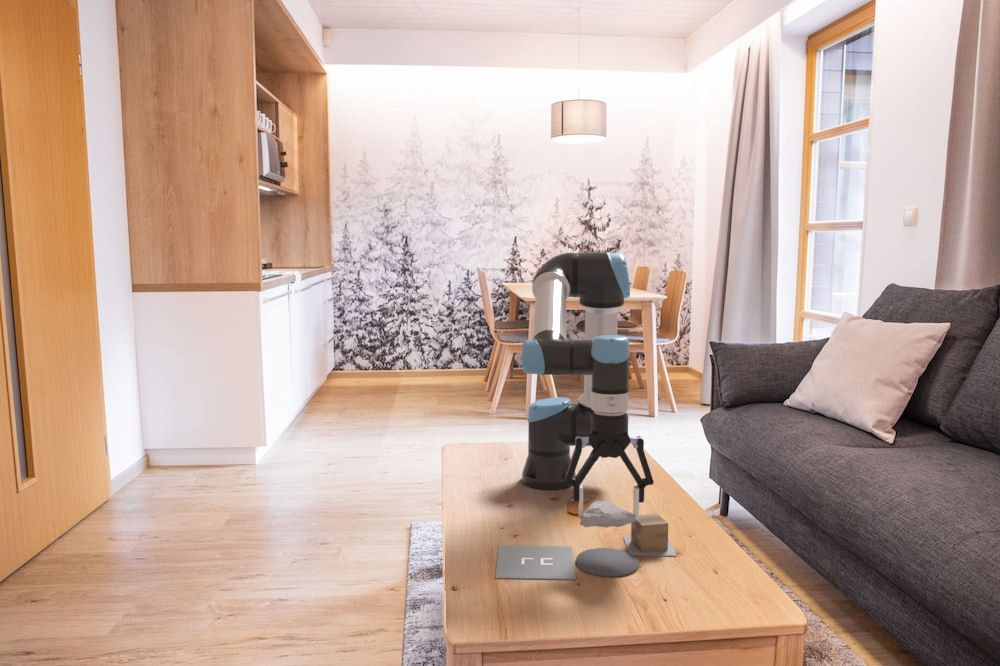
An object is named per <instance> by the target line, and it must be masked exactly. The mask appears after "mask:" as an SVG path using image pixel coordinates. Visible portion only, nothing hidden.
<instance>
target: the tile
mask: <svg viewBox="0 0 1000 666" xmlns="http://www.w3.org/2000/svg"><path fill="white" fill-rule="evenodd" d="M623 540H624V544H625V547H626V550H627V552H629V553H631V554H633V555H634V556H636V557H677V554H676V551H675V550H674V547H673V545H672V542H671V541H670V539H669V537H668V550H662V551H652V552H641V551H640V550H639V549H638V548H637V547H636V546H635V545H634V544H633V543H632V542H631V536H623Z"/></svg>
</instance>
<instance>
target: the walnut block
mask: <svg viewBox="0 0 1000 666" xmlns="http://www.w3.org/2000/svg"><path fill="white" fill-rule="evenodd" d="M630 525H631V526H630V527H631V528H630V531H631V533H630V537H631V542H632V543H633V544H634V545H635V546H636V547H637V548H638V549H639V550H640V551H641V552H652V551H662V550H668V538H669V522H667V521H666V520H665V519H664V518H663V517H662V516H661V515H659V514H658V513H648V514H639V520H636V521H634V522H632V523H630Z"/></svg>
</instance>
